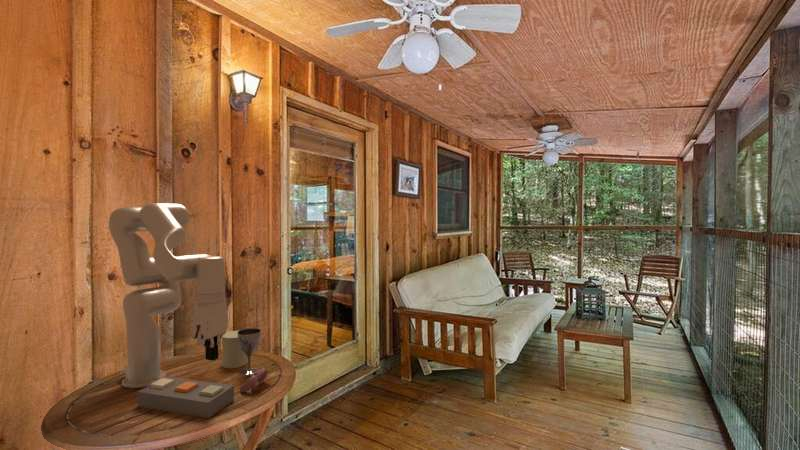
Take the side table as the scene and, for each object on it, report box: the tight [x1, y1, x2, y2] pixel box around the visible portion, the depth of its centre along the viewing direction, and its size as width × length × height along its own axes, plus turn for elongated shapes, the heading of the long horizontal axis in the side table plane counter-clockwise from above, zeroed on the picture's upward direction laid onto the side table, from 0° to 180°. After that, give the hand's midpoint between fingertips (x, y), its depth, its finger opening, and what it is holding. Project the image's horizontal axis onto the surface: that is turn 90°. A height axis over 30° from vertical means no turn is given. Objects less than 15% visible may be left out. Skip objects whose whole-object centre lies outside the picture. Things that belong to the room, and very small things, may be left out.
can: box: [221, 330, 248, 369], centre depth 148 cm, size 9×9×12 cm
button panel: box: [137, 376, 235, 419], centre depth 117 cm, size 25×11×4 cm, turn 76°
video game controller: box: [239, 367, 270, 393], centre depth 128 cm, size 10×5×7 cm, turn 169°
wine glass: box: [237, 327, 262, 377], centre depth 140 cm, size 8×8×15 cm
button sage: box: [200, 385, 223, 397], centre depth 115 cm, size 4×4×3 cm
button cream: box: [151, 377, 174, 390], centre depth 119 cm, size 4×4×3 cm
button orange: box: [175, 381, 198, 393], centre depth 117 cm, size 4×4×3 cm
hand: (212, 359), depth 114 cm, fingers closed
